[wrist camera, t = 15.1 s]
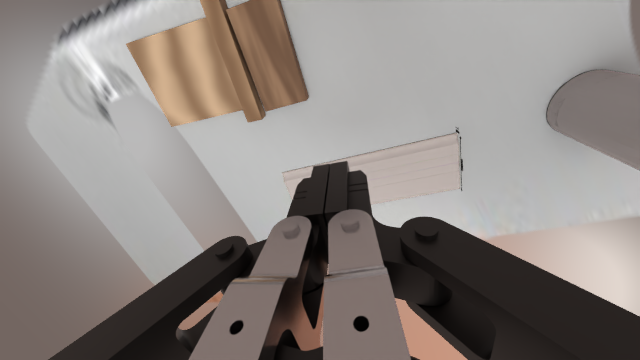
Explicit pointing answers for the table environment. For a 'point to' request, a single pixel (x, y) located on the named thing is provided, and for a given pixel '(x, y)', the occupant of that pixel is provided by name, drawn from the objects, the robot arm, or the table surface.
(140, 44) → the floor edge
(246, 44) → the plank
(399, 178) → the baseboard molding
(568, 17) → the table surface
